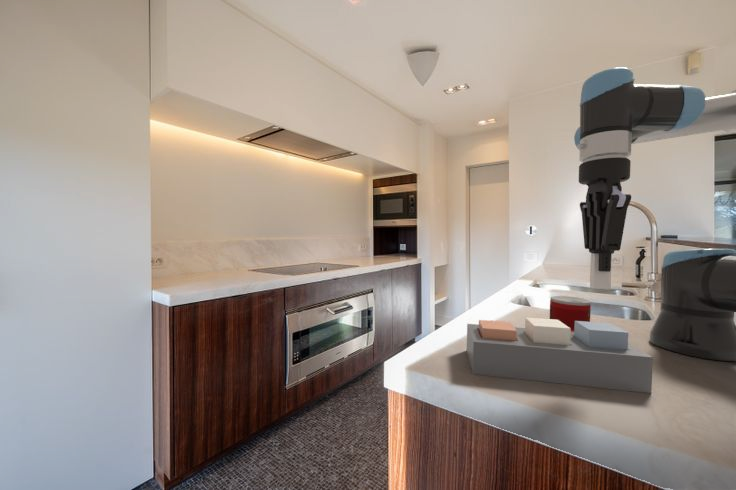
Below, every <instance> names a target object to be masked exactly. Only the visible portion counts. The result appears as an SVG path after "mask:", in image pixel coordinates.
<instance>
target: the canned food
mask: <svg viewBox="0 0 736 490" xmlns="http://www.w3.org/2000/svg"><path fill="white" fill-rule="evenodd" d="M549 300H550V301H549V319H555V320H559V321H561V322H562V323H563V324H565V325H566V326H568V327H569V328H571V332H574V327H575V321H585V322H591V301H590V300H588V299H586V298H582V297H581V298H580V297H576V296H575V297H574V296H568V295H560V296H559V295H554V296H551V297H550V299H549Z"/></svg>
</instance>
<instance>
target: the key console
mask: <svg viewBox="0 0 736 490" xmlns="http://www.w3.org/2000/svg"><path fill="white" fill-rule="evenodd" d="M466 325H467V326H466V353H467V357H468V361H469V366H470V369H471V372H472V375H480V376H487V377H488V376H490V377H498V378H507V379H517V380H525V381H533V382H534V381H536V382H543V383H551V384H552V383H554V384H563V385H570V386H572V385H573V386H579V387H580V386H581V387H582V386H583V387H588V388H589V387H591V388H598V389H609V390H618V391H626V392H634V393H635V392H636V393H645V394H652V391H653V390H652V385H653V368H654V367H653V365H654V361H653V360H654V357H653V356H651V355H650V354H648V353H647V352H644V351H642V350H641V349H639V348H637V347H635V346H633V345H632V344H630V343H628V350H620V349H608V348H596V347H587V346H586V345H585V344H583V343H582V342H580V341H579V340H578V339H576V338H575V337H574V332H571V333H570V345H560V344H548V343H536V342H532V341H531V340H530V339H529V338H528V337H527V335H526V334H525V327H517V326H513V327H514V328H515V329H516V330H517V339H516V341H512V340H500V339H488V338H481V336H480V334H479V324H475V323H467V324H466Z"/></svg>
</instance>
